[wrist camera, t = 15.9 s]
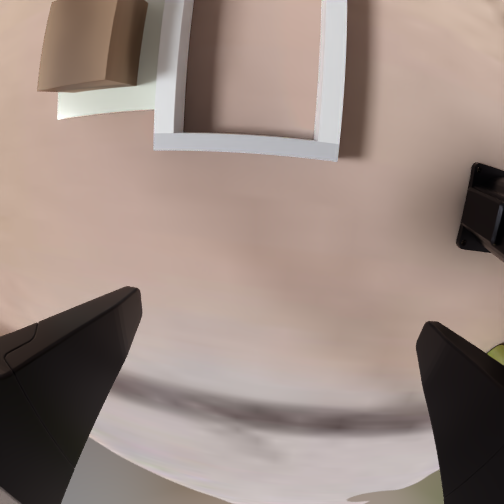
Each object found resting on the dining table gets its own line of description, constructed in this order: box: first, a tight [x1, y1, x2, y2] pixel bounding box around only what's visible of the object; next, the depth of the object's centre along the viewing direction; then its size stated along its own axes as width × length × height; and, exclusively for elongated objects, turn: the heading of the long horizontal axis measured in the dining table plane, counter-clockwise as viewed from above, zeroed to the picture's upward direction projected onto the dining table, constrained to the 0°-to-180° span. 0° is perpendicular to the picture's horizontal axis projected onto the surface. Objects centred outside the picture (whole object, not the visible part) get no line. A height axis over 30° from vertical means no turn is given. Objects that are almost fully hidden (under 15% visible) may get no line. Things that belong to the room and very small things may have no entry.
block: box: [37, 0, 148, 93], centre depth 13 cm, size 5×6×4 cm
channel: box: [154, 0, 347, 162], centre depth 14 cm, size 10×18×2 cm, turn 176°
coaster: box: [57, 0, 165, 120], centre depth 16 cm, size 8×8×1 cm
